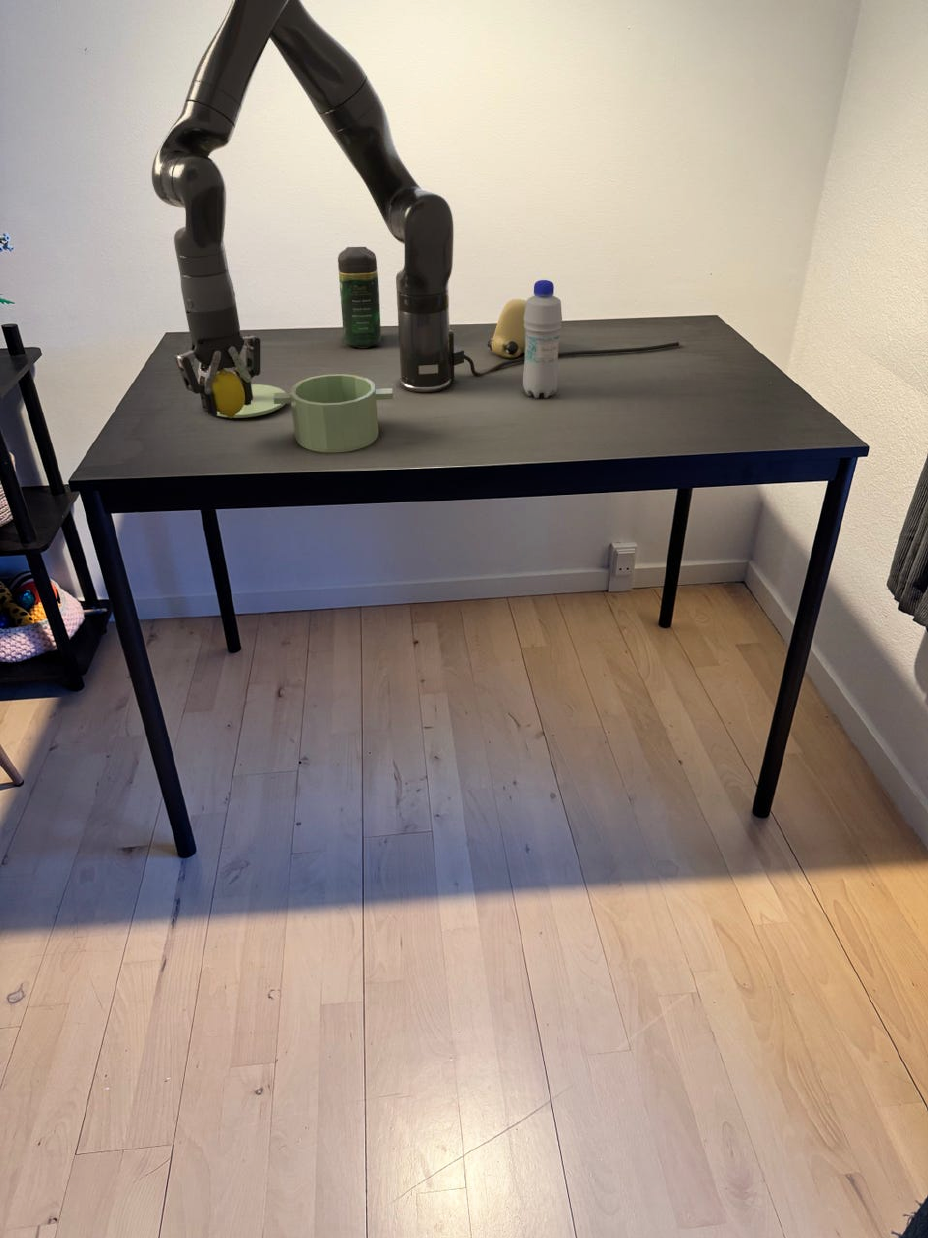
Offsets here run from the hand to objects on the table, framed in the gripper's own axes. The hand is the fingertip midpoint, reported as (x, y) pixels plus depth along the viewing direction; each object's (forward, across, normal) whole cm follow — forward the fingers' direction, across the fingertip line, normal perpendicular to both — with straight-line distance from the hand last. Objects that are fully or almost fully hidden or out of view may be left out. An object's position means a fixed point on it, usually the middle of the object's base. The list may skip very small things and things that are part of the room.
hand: (229, 408), depth 143 cm
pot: (+6, -14, +10) cm, 18 cm away
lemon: (+2, 0, 0) cm, 2 cm away
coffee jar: (+6, -46, -26) cm, 53 cm away
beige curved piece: (+7, -65, +1) cm, 65 cm away
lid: (+5, -10, -12) cm, 16 cm away
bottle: (+6, -52, +20) cm, 56 cm away
